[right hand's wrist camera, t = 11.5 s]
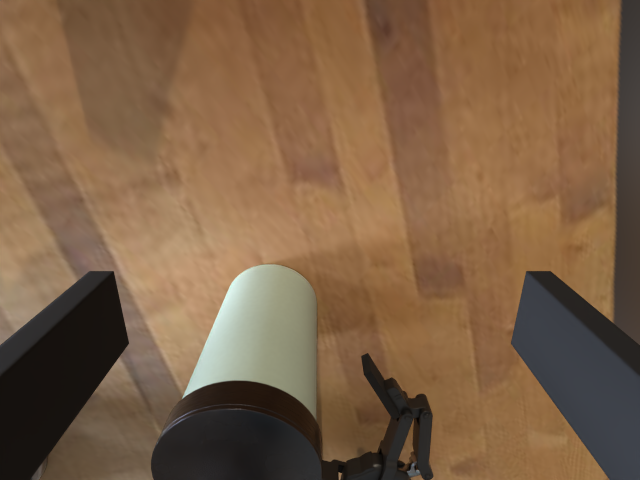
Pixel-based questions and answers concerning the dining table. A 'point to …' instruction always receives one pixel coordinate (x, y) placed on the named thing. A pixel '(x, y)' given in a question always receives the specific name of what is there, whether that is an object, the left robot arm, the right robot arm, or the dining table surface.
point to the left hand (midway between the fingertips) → (305, 389)
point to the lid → (238, 436)
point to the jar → (264, 335)
